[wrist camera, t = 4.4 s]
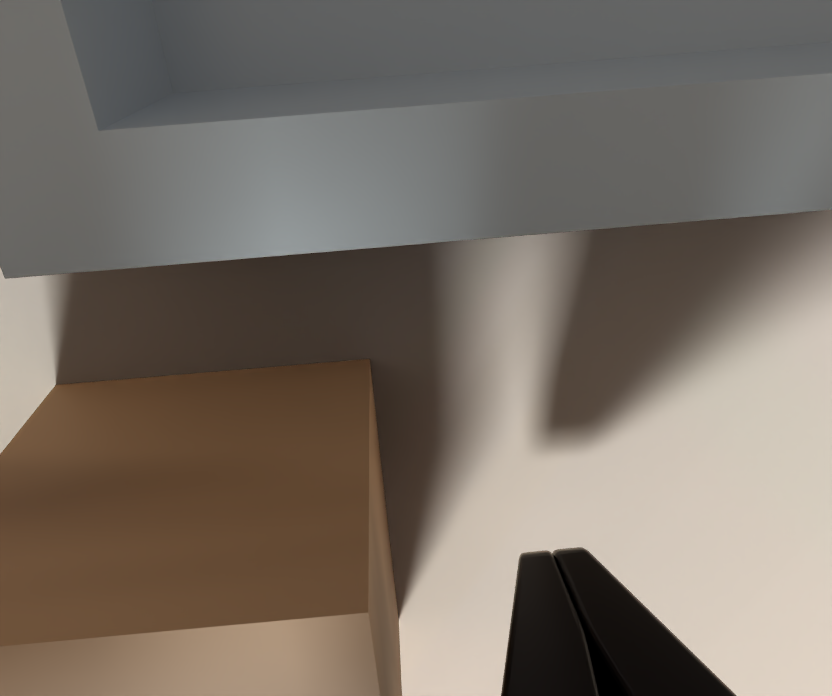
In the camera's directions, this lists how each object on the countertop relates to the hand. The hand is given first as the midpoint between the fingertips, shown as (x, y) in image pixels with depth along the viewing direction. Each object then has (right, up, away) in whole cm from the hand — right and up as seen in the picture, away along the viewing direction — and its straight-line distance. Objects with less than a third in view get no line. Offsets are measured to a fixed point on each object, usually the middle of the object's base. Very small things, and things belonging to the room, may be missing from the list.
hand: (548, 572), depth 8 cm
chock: (-4, 0, +1) cm, 4 cm away
